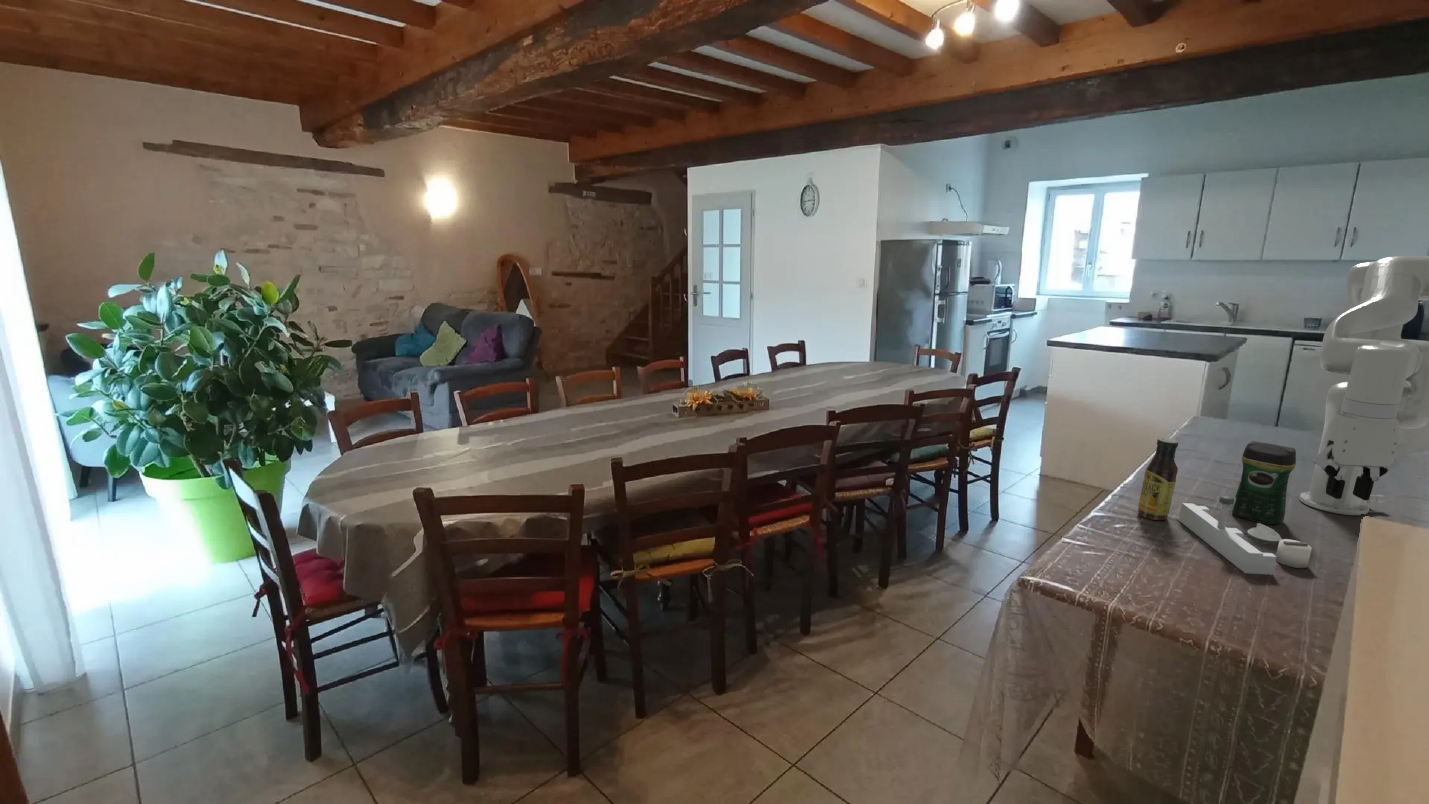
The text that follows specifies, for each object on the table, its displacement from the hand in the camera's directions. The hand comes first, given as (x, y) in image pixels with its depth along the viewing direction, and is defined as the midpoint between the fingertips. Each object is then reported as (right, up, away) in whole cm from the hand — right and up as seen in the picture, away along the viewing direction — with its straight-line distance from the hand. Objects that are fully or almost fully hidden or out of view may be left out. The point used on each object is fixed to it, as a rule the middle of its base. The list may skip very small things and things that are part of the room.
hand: (1346, 496), depth 127 cm
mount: (-15, -13, +13) cm, 23 cm away
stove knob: (-3, -12, +16) cm, 21 cm away
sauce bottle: (-20, -9, +27) cm, 35 cm away
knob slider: (-7, -15, +5) cm, 17 cm away
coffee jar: (+4, -9, +26) cm, 28 cm away
